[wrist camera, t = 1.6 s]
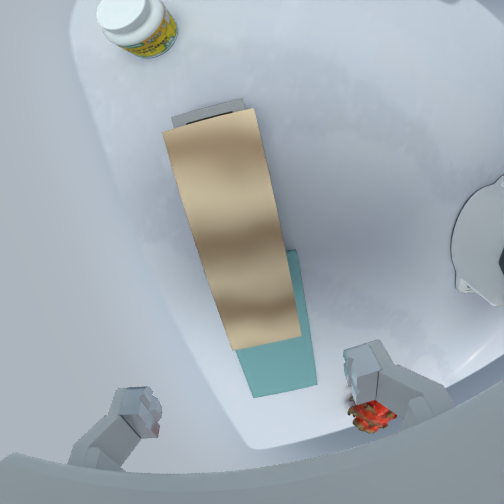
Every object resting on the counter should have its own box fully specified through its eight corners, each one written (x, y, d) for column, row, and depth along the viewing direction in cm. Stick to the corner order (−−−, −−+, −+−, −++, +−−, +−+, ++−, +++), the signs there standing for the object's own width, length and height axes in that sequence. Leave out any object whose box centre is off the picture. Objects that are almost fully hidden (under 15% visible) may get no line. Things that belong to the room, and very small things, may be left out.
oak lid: (296, 318, 30) (301, 335, 28) (232, 332, 30) (232, 350, 28) (251, 109, 22) (253, 107, 19) (170, 130, 22) (162, 132, 20)
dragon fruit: (354, 406, 50) (364, 356, 46) (396, 416, 45) (412, 366, 42) (338, 437, 43) (348, 387, 40) (384, 449, 38) (403, 399, 35)
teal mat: (317, 382, 43) (317, 384, 43) (253, 396, 44) (253, 398, 43) (295, 249, 34) (296, 251, 34) (208, 269, 34) (207, 271, 34)
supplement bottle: (171, 6, 22) (147, -32, 13) (184, 47, 24) (163, 18, 16) (122, 26, 23) (83, -2, 14) (134, 67, 25) (95, 49, 16)
